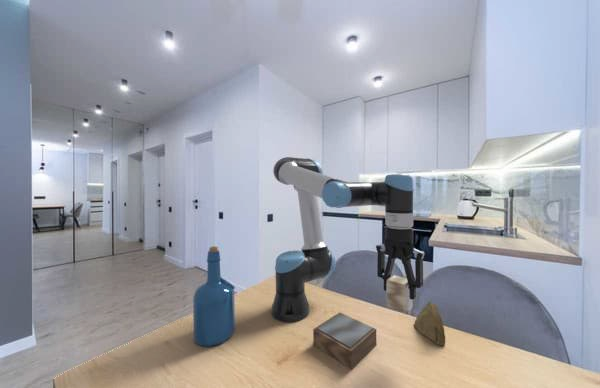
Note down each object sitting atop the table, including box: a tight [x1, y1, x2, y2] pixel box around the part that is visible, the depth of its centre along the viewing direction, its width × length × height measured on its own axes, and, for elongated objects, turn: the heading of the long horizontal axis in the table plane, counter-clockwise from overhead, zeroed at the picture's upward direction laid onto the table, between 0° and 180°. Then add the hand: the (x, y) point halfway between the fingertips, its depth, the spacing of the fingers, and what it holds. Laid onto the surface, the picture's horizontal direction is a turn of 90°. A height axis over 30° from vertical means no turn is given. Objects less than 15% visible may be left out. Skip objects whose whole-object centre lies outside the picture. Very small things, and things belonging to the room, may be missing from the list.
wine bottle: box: [192, 245, 236, 347], centre depth 77 cm, size 14×13×30 cm
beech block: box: [386, 274, 409, 314], centre depth 66 cm, size 5×5×8 cm
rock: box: [413, 301, 446, 346], centre depth 75 cm, size 11×9×10 cm
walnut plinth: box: [312, 311, 377, 370], centre depth 71 cm, size 14×14×5 cm
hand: (399, 305), depth 66 cm, fingers closed on beech block, 5 cm apart
